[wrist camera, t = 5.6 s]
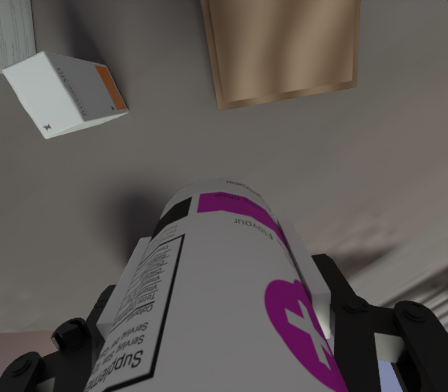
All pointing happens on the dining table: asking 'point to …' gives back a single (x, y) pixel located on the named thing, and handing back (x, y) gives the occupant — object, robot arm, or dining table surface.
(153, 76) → the dining table surface
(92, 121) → the skincare box
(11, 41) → the supplement box
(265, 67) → the tray
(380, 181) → the dining table surface
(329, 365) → the supplement can
